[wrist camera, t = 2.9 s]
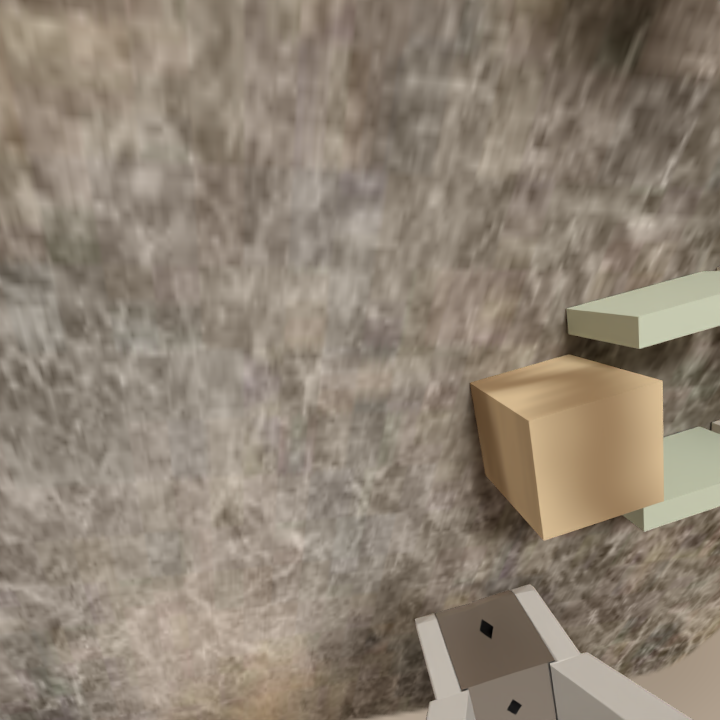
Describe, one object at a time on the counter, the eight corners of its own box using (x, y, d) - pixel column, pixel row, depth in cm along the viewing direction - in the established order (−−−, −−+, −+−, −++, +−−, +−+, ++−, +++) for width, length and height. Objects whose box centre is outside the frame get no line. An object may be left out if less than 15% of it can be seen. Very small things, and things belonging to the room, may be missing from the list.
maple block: (484, 473, 17) (543, 540, 13) (468, 381, 16) (528, 420, 11) (575, 445, 17) (664, 501, 13) (567, 353, 16) (662, 380, 12)
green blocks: (580, 483, 18) (644, 531, 14) (566, 308, 15) (638, 316, 12) (698, 446, 18) (786, 483, 15) (702, 271, 16) (808, 268, 12)
